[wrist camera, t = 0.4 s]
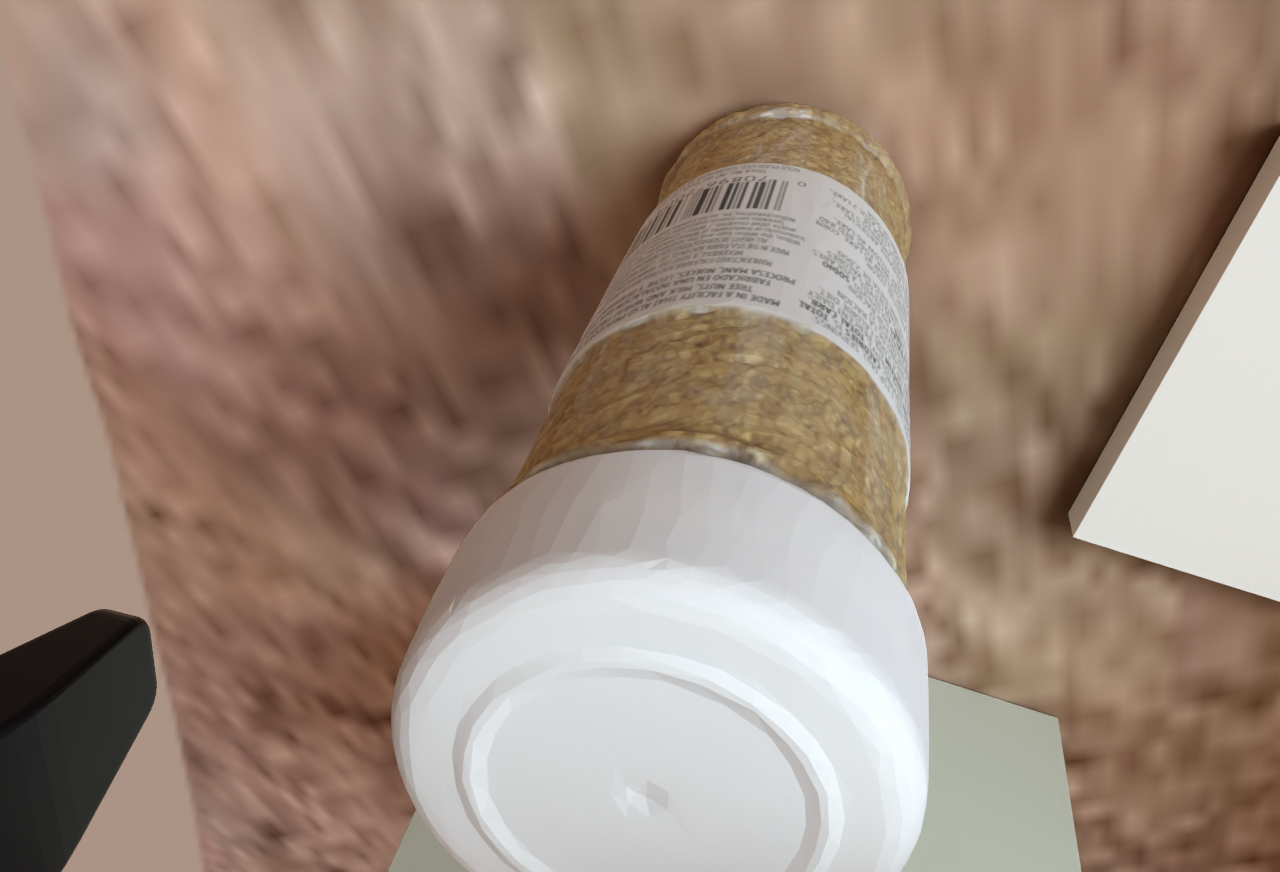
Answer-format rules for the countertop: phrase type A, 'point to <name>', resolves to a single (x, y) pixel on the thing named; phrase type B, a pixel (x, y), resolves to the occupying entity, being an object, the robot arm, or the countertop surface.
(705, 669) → the seasoning jar
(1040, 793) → the pale green board
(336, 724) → the countertop surface
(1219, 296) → the tile pad
